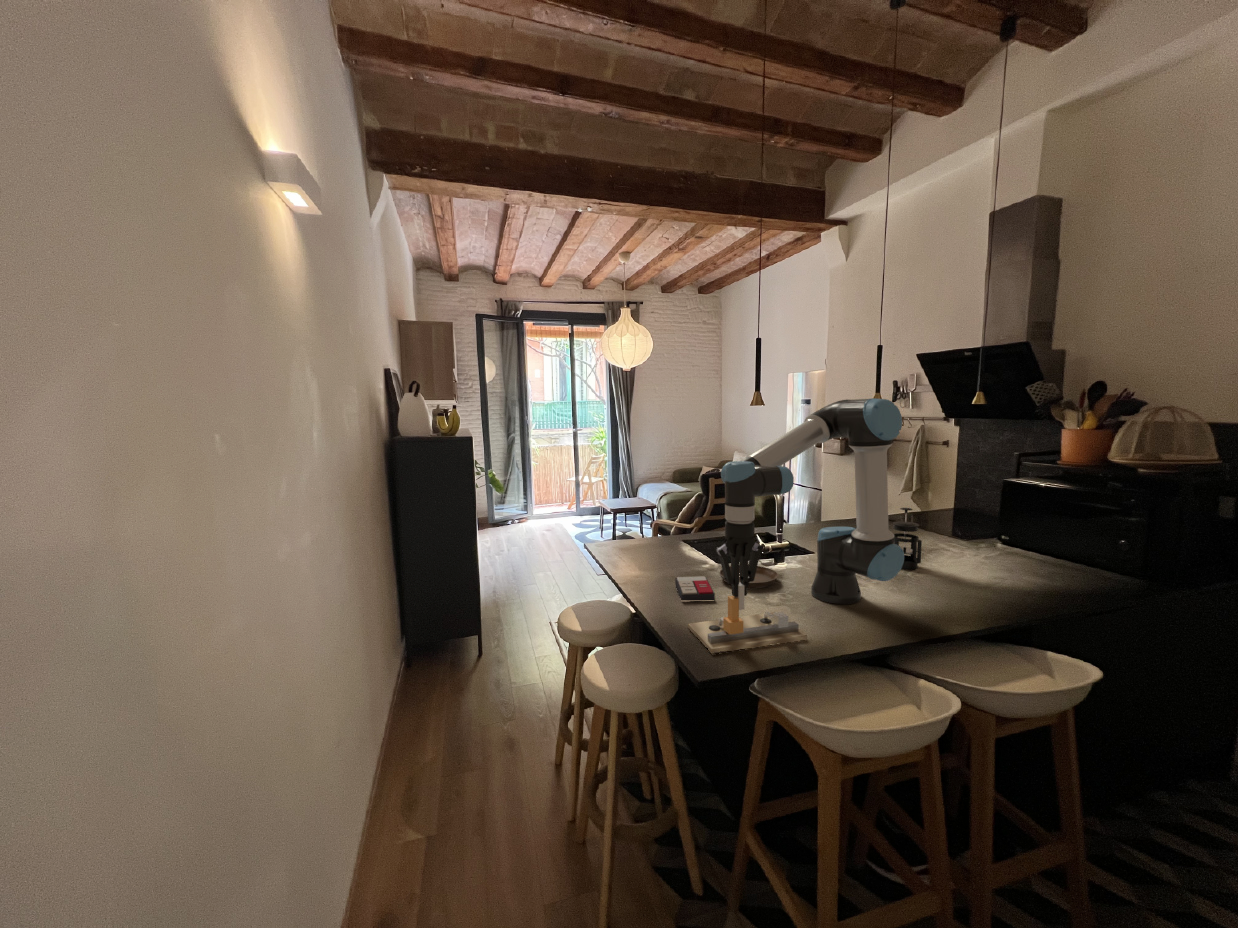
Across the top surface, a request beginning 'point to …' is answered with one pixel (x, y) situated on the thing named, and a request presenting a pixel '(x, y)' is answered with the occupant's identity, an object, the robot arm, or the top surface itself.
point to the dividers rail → (758, 629)
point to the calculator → (694, 588)
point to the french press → (909, 561)
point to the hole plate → (748, 622)
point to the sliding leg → (732, 617)
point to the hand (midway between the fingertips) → (739, 607)
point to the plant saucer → (759, 577)
